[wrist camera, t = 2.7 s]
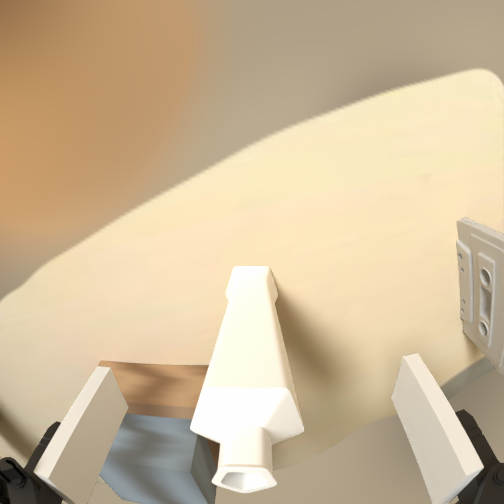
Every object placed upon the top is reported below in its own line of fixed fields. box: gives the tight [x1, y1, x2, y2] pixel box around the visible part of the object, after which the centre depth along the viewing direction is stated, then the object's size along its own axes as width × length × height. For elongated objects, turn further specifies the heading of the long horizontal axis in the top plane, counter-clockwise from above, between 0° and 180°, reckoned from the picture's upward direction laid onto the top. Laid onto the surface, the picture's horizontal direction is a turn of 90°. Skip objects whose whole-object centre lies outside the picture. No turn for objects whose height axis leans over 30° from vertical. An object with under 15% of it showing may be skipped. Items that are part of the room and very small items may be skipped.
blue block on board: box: [98, 361, 220, 504], centre depth 21 cm, size 12×12×10 cm
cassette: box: [456, 217, 504, 375], centre depth 18 cm, size 12×2×8 cm, turn 22°
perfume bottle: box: [190, 266, 304, 493], centre depth 15 cm, size 5×4×15 cm
